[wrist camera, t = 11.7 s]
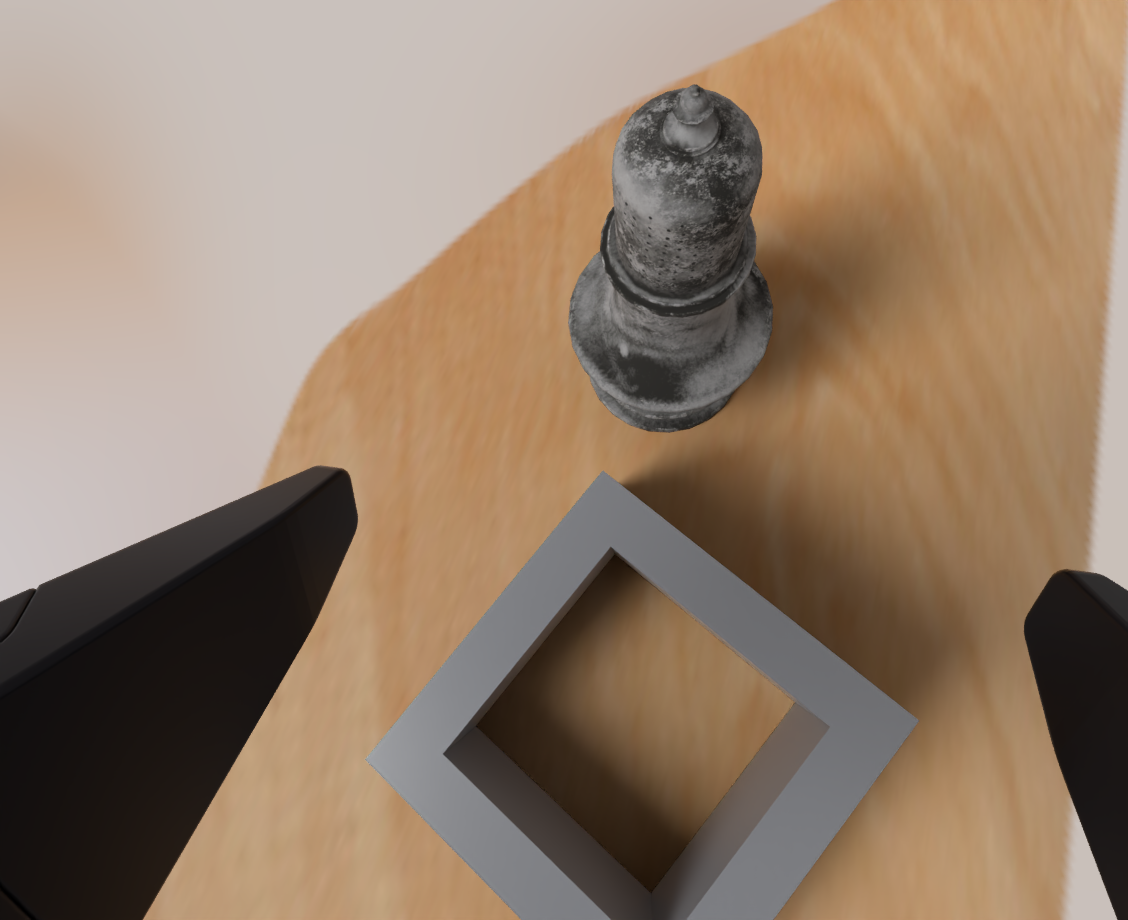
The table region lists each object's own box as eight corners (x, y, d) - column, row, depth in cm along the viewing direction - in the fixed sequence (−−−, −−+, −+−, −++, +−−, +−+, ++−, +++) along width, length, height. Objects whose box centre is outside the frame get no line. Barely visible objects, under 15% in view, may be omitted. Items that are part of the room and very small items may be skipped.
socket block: (659, 976, 18) (665, 1066, 15) (410, 731, 20) (364, 759, 17) (868, 697, 19) (919, 720, 15) (608, 489, 21) (603, 470, 18)
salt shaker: (715, 257, 22) (803, -111, 11) (777, 409, 21) (956, 177, 9) (558, 311, 22) (473, 8, 11) (609, 463, 21) (573, 307, 9)
